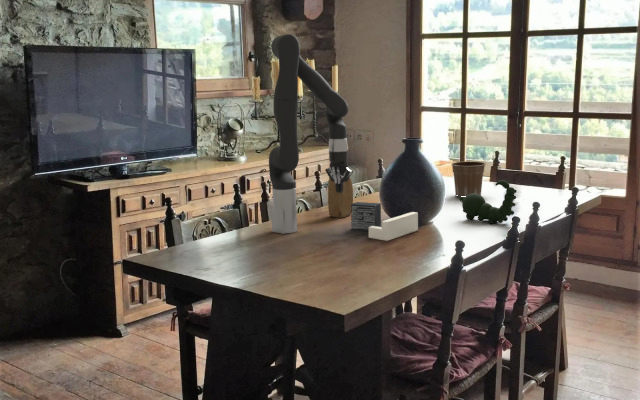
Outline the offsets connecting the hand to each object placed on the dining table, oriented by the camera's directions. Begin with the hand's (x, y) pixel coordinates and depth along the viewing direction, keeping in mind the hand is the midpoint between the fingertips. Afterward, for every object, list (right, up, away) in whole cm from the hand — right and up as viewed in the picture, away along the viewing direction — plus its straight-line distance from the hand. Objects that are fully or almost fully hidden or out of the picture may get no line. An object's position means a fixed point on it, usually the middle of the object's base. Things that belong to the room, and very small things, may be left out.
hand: (339, 192), depth 278 cm
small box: (+10, -15, -6) cm, 19 cm away
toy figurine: (+59, -12, +3) cm, 61 cm away
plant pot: (+64, -1, +58) cm, 87 cm away
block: (+1, -10, +20) cm, 22 cm away
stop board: (+20, -16, -15) cm, 30 cm away
